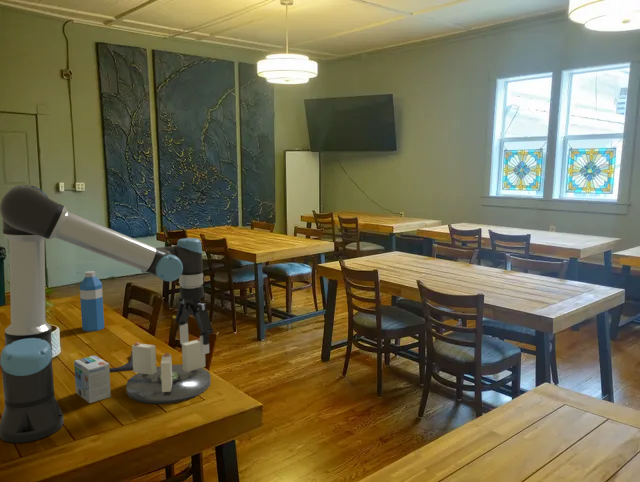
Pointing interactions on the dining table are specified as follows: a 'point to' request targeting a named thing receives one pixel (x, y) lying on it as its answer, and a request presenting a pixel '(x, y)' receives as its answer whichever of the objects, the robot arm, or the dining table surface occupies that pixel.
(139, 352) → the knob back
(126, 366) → the bracket
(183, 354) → the beige upright box
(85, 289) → the water bottle
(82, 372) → the light bulb box
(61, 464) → the dining table surface
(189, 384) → the plate
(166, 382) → the white block with knob
